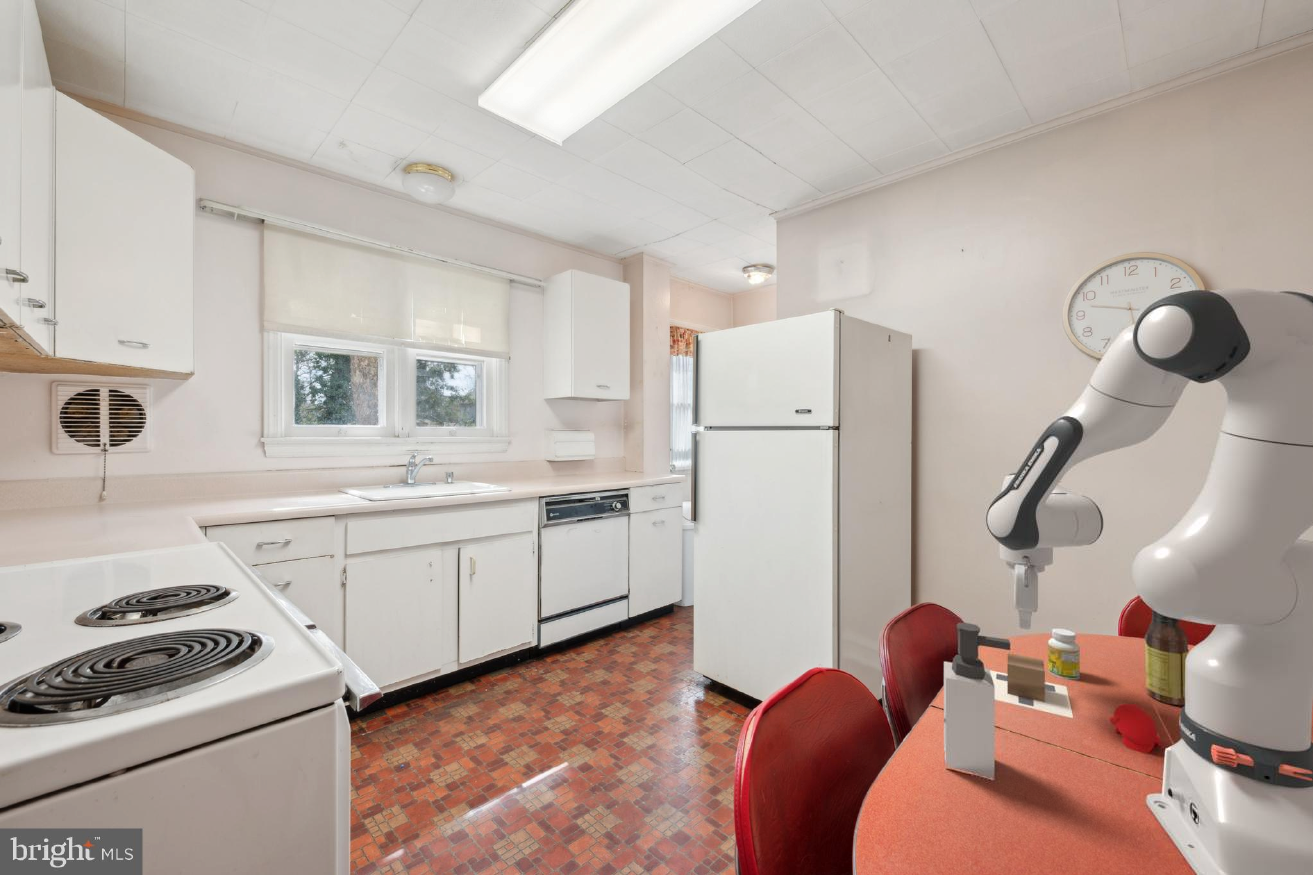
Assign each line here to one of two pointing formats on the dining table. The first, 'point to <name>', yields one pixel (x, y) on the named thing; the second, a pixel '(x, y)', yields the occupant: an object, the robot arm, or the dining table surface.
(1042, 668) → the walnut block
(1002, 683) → the letter tile
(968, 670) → the soap dispenser
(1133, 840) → the dining table surface
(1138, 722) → the red rounded lump
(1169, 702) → the sauce bottle
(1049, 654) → the supplement bottle
